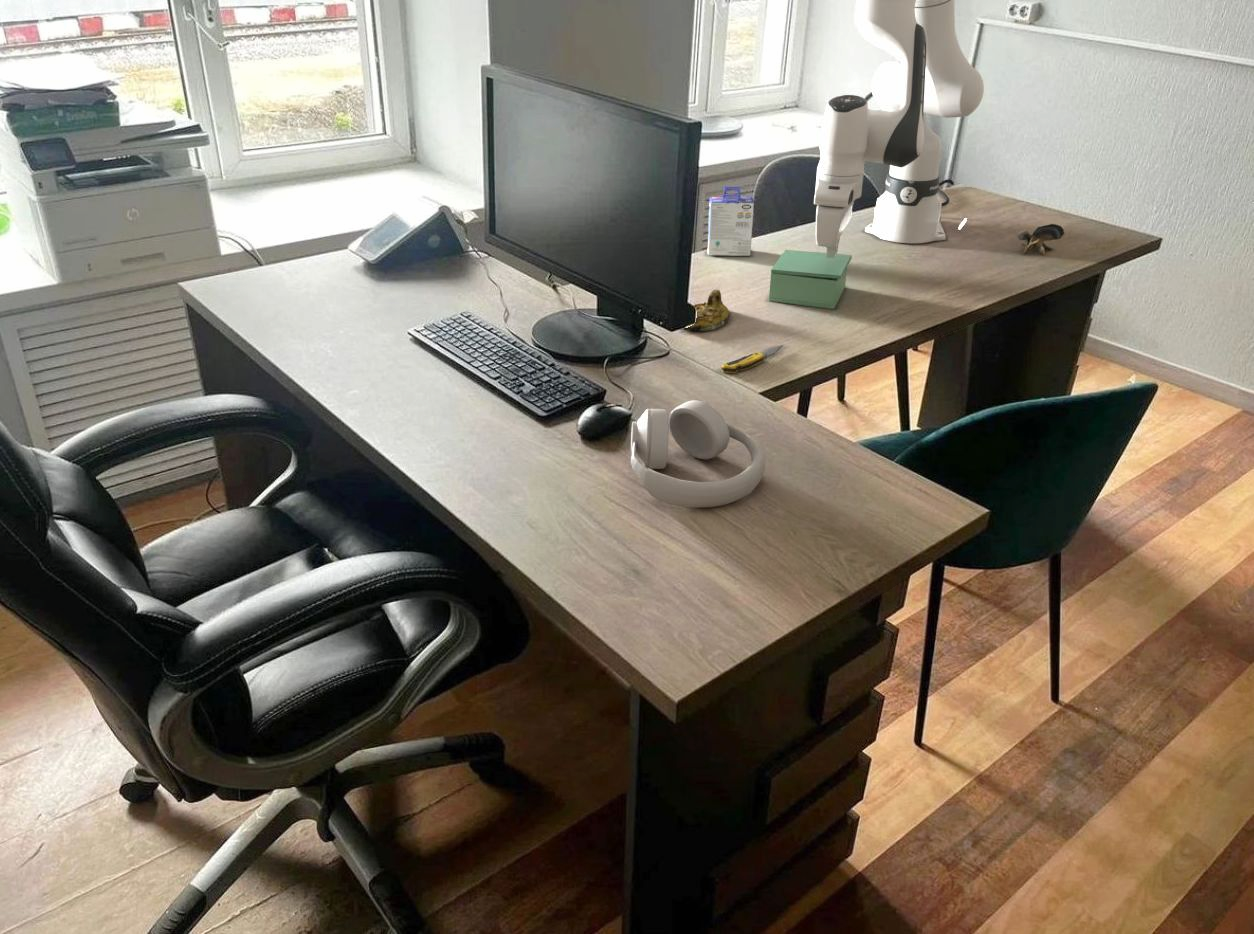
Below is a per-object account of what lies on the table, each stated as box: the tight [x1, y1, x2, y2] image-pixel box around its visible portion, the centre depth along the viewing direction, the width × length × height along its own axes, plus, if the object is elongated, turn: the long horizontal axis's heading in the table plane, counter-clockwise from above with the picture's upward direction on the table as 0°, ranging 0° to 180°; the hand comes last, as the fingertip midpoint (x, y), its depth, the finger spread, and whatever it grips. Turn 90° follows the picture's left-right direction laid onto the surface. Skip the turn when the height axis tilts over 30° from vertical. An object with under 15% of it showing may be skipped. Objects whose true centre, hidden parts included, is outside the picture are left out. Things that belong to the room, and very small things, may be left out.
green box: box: [768, 265, 849, 310], centre depth 203 cm, size 13×14×6 cm
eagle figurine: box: [1016, 223, 1065, 256], centre depth 228 cm, size 8×7×9 cm
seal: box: [682, 289, 731, 332], centre depth 190 cm, size 9×5×15 cm
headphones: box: [630, 399, 766, 509], centre depth 139 cm, size 18×8×20 cm
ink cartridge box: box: [706, 186, 755, 257], centre depth 224 cm, size 10×6×14 cm, turn 89°
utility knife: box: [721, 344, 785, 374], centre depth 175 cm, size 16×1×3 cm
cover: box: [770, 249, 853, 279], centre depth 201 cm, size 14×14×1 cm
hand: (831, 255), depth 200 cm, fingers closed
